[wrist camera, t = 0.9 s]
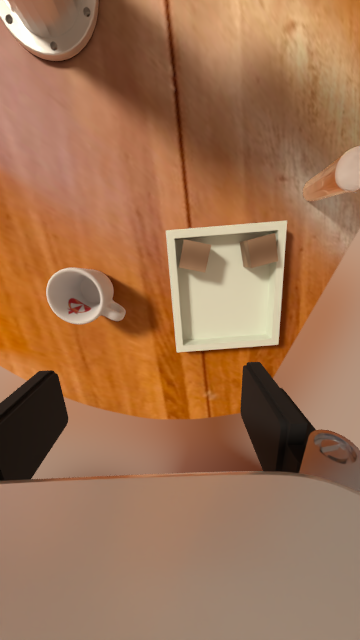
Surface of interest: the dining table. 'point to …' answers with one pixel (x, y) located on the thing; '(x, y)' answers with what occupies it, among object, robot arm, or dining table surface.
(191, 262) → the walnut block
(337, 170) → the milkshake
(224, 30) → the dining table surface
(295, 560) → the robot arm
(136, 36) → the dining table surface
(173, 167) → the dining table surface
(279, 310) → the tray
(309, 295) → the dining table surface
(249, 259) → the walnut block
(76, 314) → the cup
